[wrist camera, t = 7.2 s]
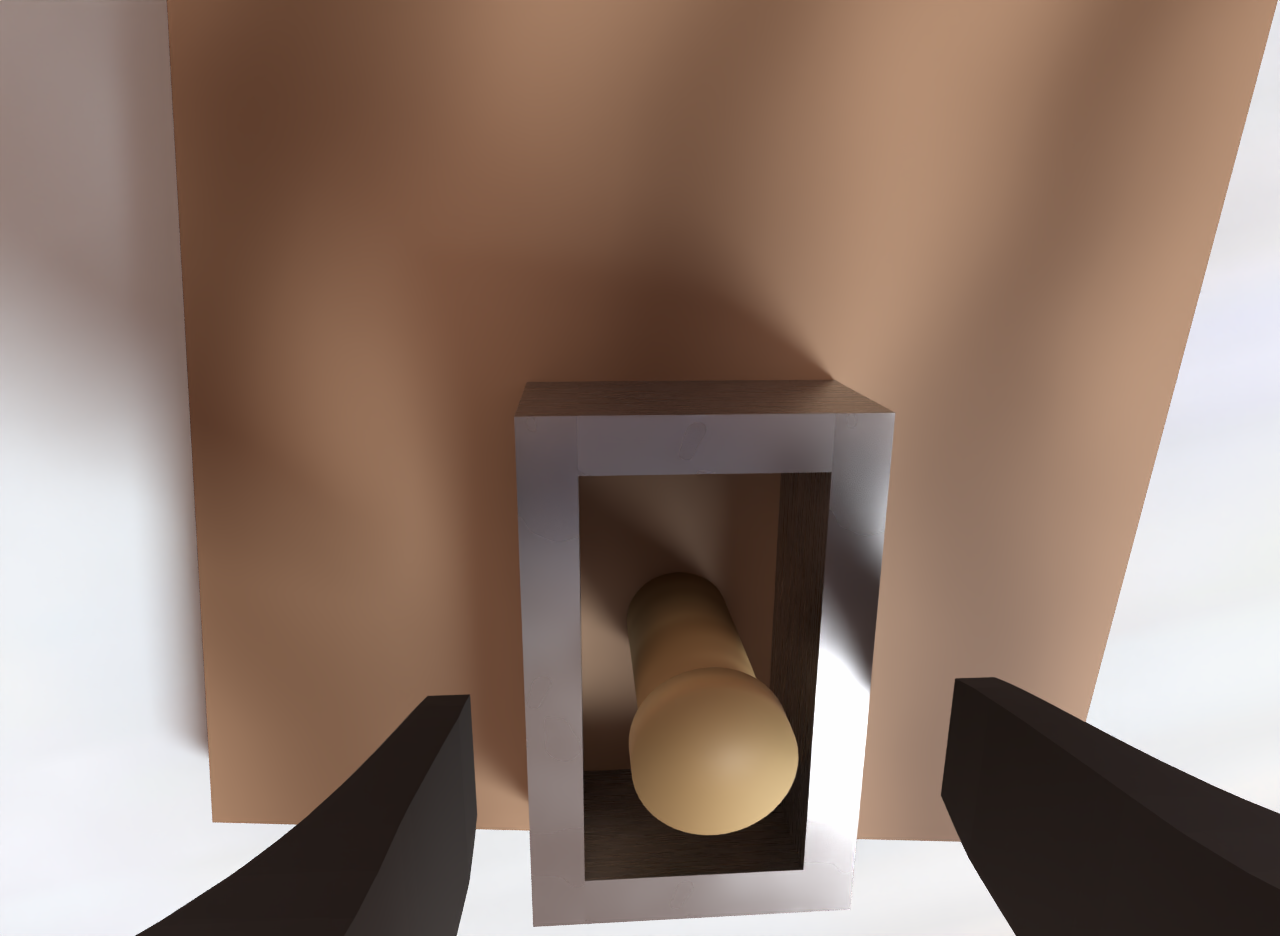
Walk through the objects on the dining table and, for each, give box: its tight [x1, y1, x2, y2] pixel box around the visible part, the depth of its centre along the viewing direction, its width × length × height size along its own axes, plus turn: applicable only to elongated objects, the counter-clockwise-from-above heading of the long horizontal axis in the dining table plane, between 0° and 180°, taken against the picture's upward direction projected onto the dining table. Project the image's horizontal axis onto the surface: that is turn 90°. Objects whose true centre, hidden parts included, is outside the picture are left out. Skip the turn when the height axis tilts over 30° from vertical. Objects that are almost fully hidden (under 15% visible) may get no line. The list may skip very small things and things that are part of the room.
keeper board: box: [167, 0, 1278, 842], centre depth 13 cm, size 18×24×6 cm
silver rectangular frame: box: [514, 380, 895, 927], centre depth 14 cm, size 6×9×3 cm, turn 0°
